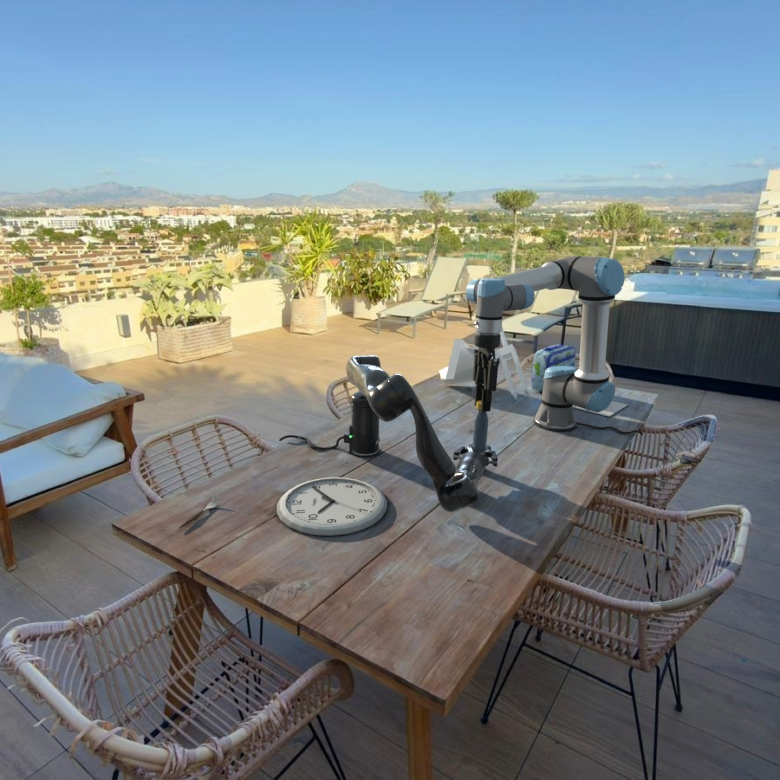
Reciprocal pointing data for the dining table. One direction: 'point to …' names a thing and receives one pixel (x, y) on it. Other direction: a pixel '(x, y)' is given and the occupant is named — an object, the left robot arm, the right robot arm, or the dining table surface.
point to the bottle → (480, 431)
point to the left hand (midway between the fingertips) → (480, 446)
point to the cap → (479, 404)
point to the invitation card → (608, 409)
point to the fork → (209, 506)
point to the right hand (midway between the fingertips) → (482, 408)
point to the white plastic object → (464, 364)
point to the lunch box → (550, 362)
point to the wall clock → (331, 506)
